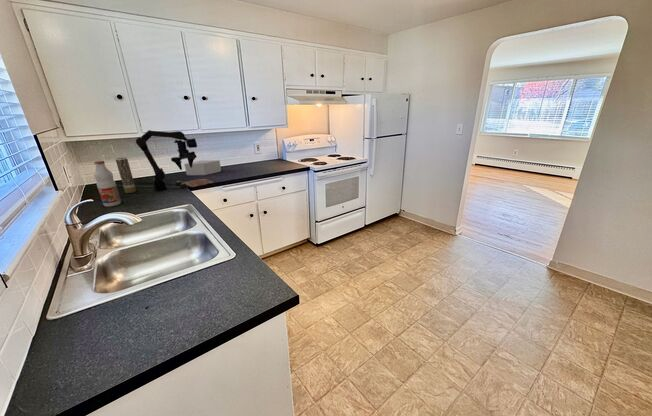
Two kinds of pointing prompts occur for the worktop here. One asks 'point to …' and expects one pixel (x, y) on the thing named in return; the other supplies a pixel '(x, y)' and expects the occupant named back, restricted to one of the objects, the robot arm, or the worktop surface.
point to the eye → (183, 185)
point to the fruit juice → (106, 185)
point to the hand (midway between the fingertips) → (186, 168)
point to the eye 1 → (178, 183)
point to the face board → (198, 182)
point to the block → (203, 167)
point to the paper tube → (126, 175)
